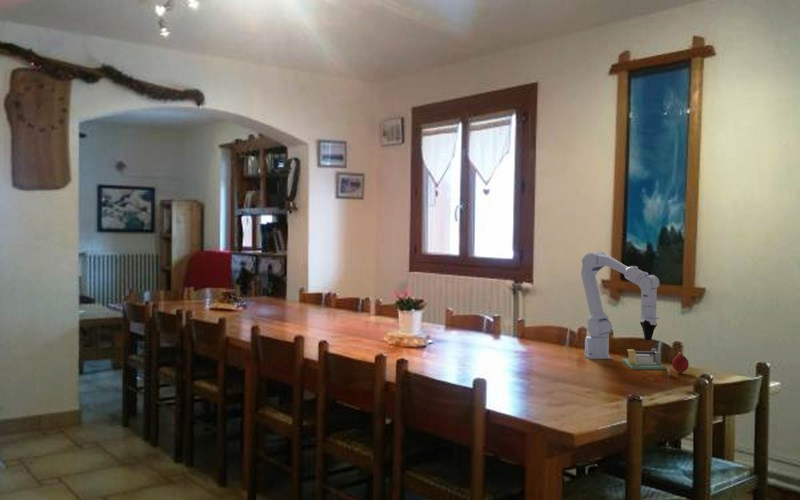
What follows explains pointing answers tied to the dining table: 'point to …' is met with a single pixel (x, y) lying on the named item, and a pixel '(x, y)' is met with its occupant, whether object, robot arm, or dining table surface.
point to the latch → (631, 357)
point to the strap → (645, 352)
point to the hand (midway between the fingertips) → (648, 340)
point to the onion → (680, 363)
